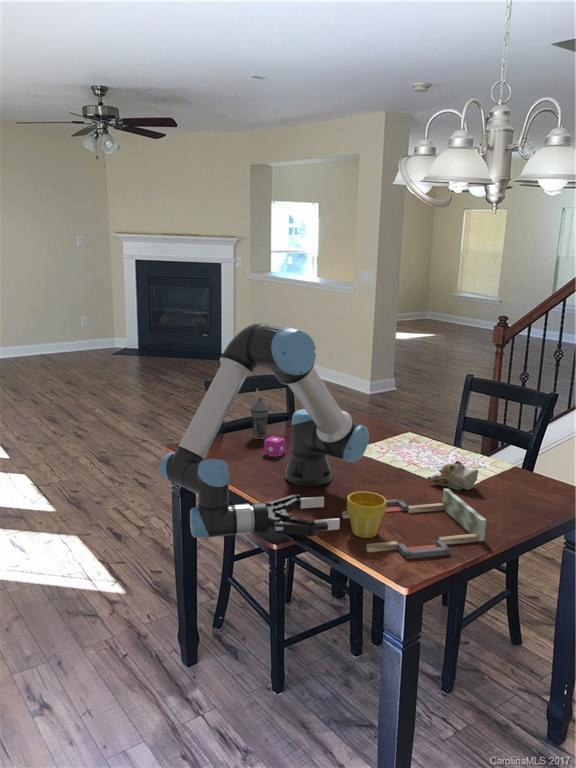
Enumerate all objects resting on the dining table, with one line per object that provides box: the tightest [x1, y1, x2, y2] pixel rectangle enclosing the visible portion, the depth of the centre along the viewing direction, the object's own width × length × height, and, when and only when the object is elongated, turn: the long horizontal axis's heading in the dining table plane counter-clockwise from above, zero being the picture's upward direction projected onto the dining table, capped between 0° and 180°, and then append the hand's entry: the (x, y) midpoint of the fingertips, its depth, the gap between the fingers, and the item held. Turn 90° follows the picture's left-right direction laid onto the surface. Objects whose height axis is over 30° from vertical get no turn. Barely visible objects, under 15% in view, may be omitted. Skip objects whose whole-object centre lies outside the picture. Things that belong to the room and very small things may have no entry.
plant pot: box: [346, 491, 387, 539], centre depth 165 cm, size 10×10×10 cm
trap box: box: [341, 488, 487, 553], centre depth 168 cm, size 21×32×6 cm, turn 103°
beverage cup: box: [250, 388, 270, 438], centre depth 239 cm, size 7×7×20 cm
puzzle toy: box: [263, 436, 287, 456], centre depth 223 cm, size 6×6×6 cm
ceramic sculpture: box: [426, 460, 479, 491], centre depth 199 cm, size 11×9×15 cm
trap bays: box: [385, 498, 451, 560], centre depth 168 cm, size 31×12×2 cm, turn 13°
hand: (331, 512), depth 162 cm, fingers open, 13 cm apart
